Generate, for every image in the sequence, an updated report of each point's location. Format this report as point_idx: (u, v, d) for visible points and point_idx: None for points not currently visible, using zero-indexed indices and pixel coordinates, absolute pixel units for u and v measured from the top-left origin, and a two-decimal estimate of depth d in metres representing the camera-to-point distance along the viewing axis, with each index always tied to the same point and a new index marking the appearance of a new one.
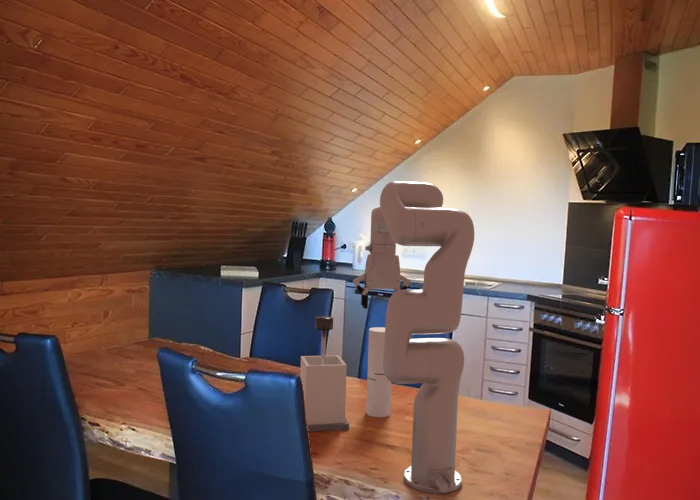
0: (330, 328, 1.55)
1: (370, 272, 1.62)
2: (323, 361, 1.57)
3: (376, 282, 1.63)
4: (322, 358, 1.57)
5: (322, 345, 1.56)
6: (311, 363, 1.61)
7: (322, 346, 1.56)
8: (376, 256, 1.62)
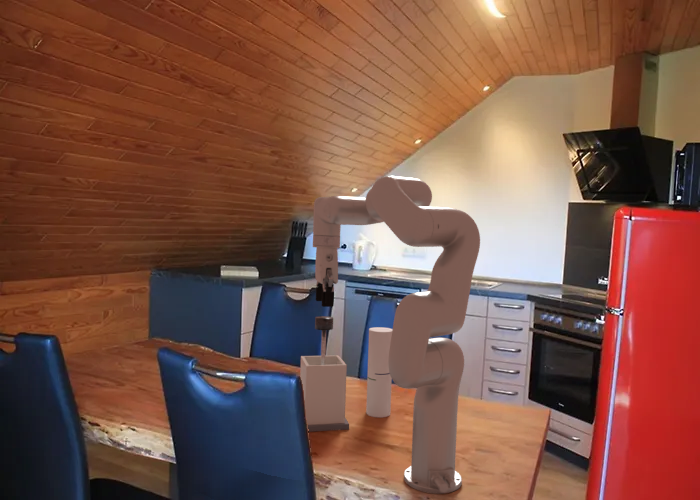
0: (330, 328, 1.55)
1: (337, 266, 1.52)
2: (323, 361, 1.57)
3: None
4: (322, 358, 1.57)
5: (322, 345, 1.56)
6: (311, 363, 1.61)
7: (322, 346, 1.56)
8: None
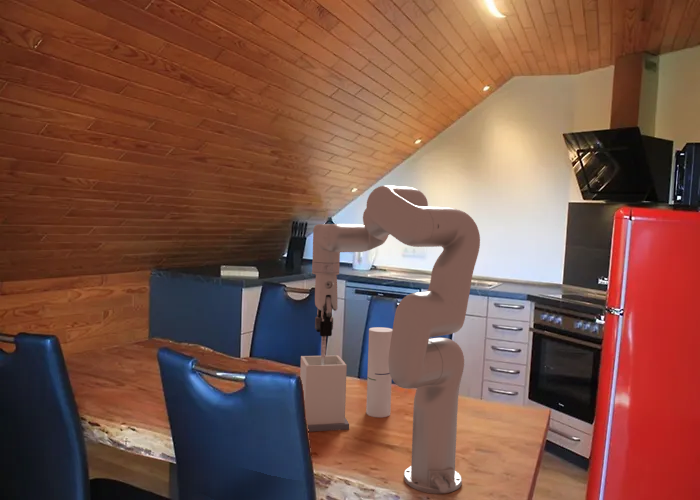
0: None
1: None
2: (323, 361, 1.57)
3: None
4: (322, 358, 1.57)
5: (322, 345, 1.56)
6: (311, 363, 1.61)
7: (322, 346, 1.56)
8: None
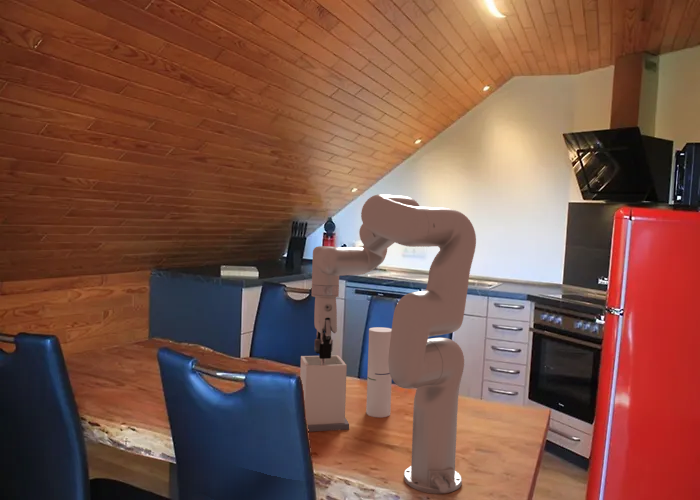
0: None
1: (336, 316, 1.53)
2: None
3: None
4: None
5: None
6: (311, 363, 1.61)
7: None
8: (335, 298, 1.54)
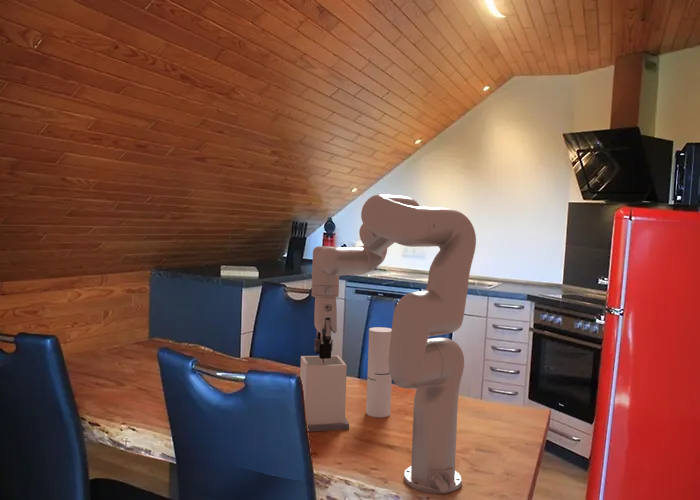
0: None
1: (336, 316, 1.53)
2: None
3: None
4: None
5: None
6: (311, 363, 1.61)
7: None
8: (335, 298, 1.54)
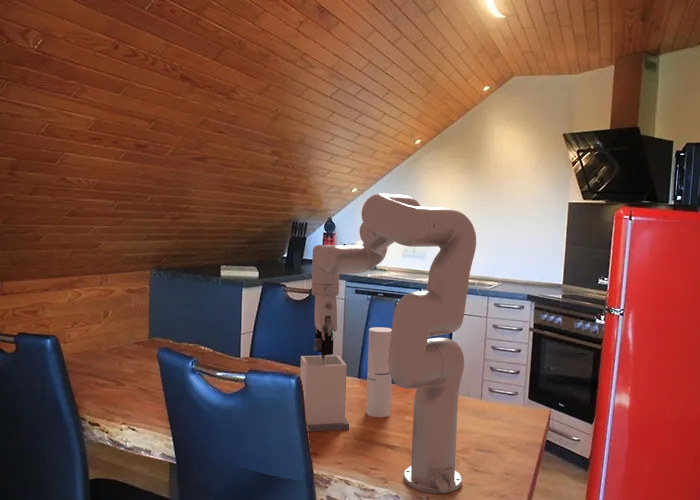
0: None
1: (336, 314, 1.53)
2: None
3: None
4: None
5: None
6: (311, 363, 1.61)
7: None
8: (335, 296, 1.54)
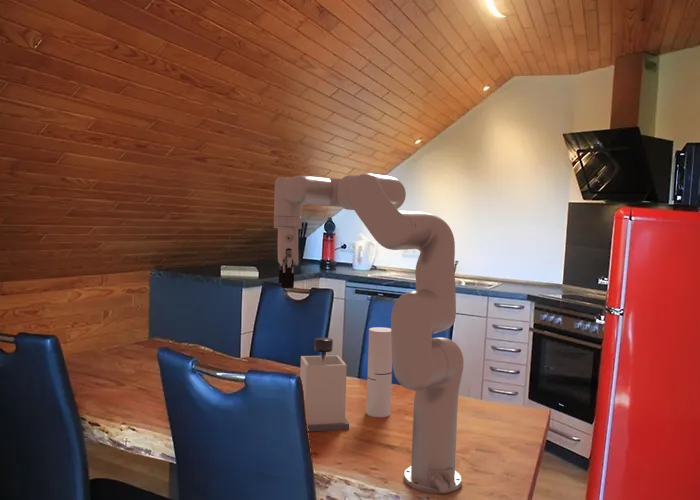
0: (329, 350, 1.55)
1: None
2: None
3: None
4: None
5: None
6: (311, 363, 1.61)
7: None
8: None
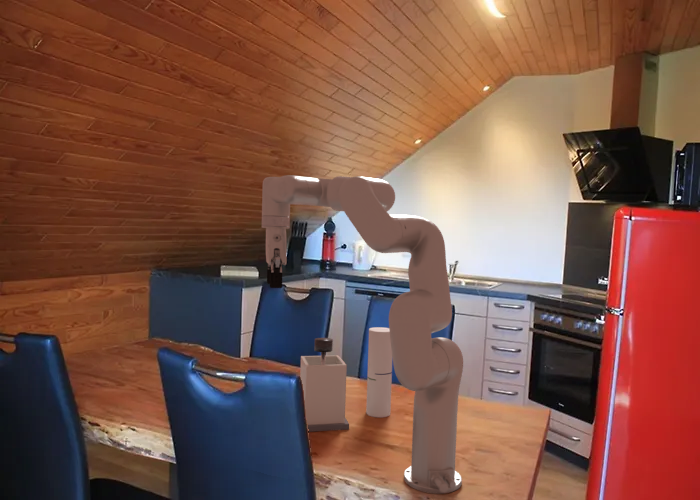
0: (329, 350, 1.55)
1: None
2: None
3: None
4: None
5: None
6: (311, 363, 1.61)
7: None
8: (285, 229, 1.51)
